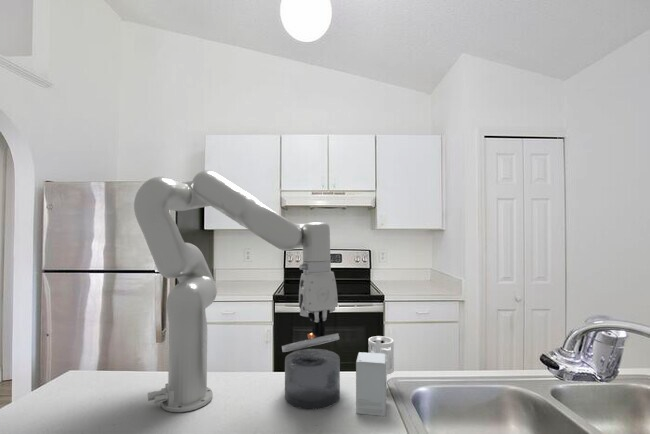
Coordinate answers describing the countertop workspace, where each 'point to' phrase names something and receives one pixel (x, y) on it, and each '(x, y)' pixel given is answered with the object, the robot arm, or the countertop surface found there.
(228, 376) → the countertop surface
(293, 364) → the grey rounded cylinder
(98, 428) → the countertop surface
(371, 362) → the supplement box
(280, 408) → the countertop surface
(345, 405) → the countertop surface
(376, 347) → the white caged cylinder
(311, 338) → the lid
